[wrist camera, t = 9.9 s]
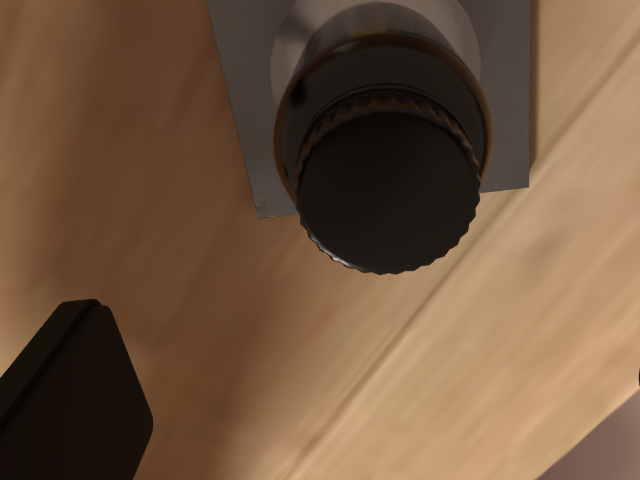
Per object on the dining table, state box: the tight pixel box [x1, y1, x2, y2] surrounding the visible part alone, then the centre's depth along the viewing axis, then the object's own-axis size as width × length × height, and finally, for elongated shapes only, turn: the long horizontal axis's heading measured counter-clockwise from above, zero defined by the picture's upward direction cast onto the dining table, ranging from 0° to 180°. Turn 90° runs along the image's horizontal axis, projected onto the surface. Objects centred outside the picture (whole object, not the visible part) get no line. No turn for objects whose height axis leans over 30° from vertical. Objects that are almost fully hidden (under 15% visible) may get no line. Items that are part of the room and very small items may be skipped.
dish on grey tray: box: [206, 0, 531, 219], centre depth 26 cm, size 14×14×3 cm
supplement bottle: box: [273, 2, 493, 275], centre depth 20 cm, size 7×7×12 cm
